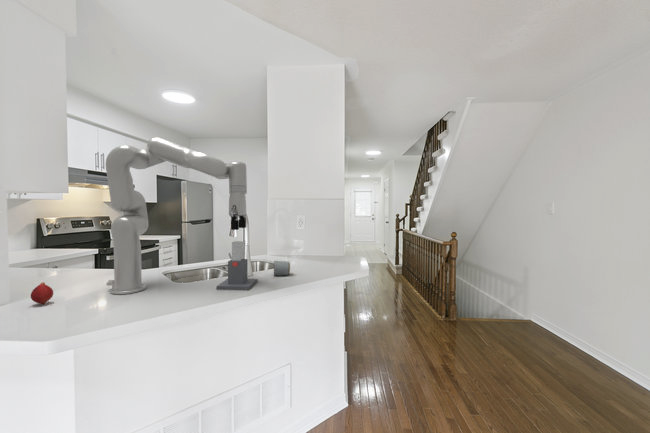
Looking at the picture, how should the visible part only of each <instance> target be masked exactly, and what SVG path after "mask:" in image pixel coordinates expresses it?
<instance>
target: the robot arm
mask: <svg viewBox="0 0 650 433" xmlns="http://www.w3.org/2000/svg"><path fill="white" fill-rule="evenodd" d="M164 162H165V163H166V162H169V163H172V164H174V165H177V166H179V167H182V168H186V169H190V170H194V171H198V172H200V173H203V174H205V175H208V176H211V177H214V178H215V179H218V180H226V179H228V190H229V191H228V194H229V198H228V215H229V216H230V230H231V231H235V230H236V231H237V230H239V229H246V228H247V200H246V199H247V198H246V195H247V193H248V192H247V191H248V190H247V189H248V187H247V185H248V184H247V182H248V180H247V179H248V178H247V164H246V163H245V162H242V161H232V162H230V163H225V162H224V161H223V160H220V159H219V158H216V157H214V156H211V155H208V154H205V153H203V152H200V151H198V150H195V149H193V148H190V147H187V146H184V145H182V144H179V143H177V142H174V141H171V140H170V139H166V138H163V137H162V136H161V137H160V136H154V137H151V138H150V139H148V141H147V144H146V147H145V148H141V149H140V148H137V147H135V146H134V145H128V144H127V145H125V144H123V145H119V146H116V147H114V148H113V149H112V150H110V151H109V153H108V154H107V156H106V160H105V173H106V176H107V184H108V191H109V197H110V204H111V207H112V208H113V209H114V210H115V211H118V212H120V213H121V212H123V215H120V216H117V217H116V218H115V219H114V220H113V221H112V222H111V226H110V234H111V237H112V241H113V242H112V243H113V246H112V247H113V270H114V271H113V273H114V275H113V277H114V279H109V280H108V281H107V282H106V286H109V287H110V286H111V288H110V289H109V293H110V294H113V295H127V294H134V293H139V292H142V291H144V290H146V289H147V285H146V284H145V283H142V279H143V277H142V274H143V273H142V245H141V239H140V236H141V235H143V234H145V233H146V232H147V230H148V228H149V217H148V209H147V203H146V202H147V201H146V200H145V199H146V198H145V196H144V195H143V194H142V193H141V192H140V191H137V190H135V185H134V179H133V176H132V173H131V168H132V169H135V170H145V169H148V168H151V167H153V166H157V165H159V164H162V163H164Z"/></svg>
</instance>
